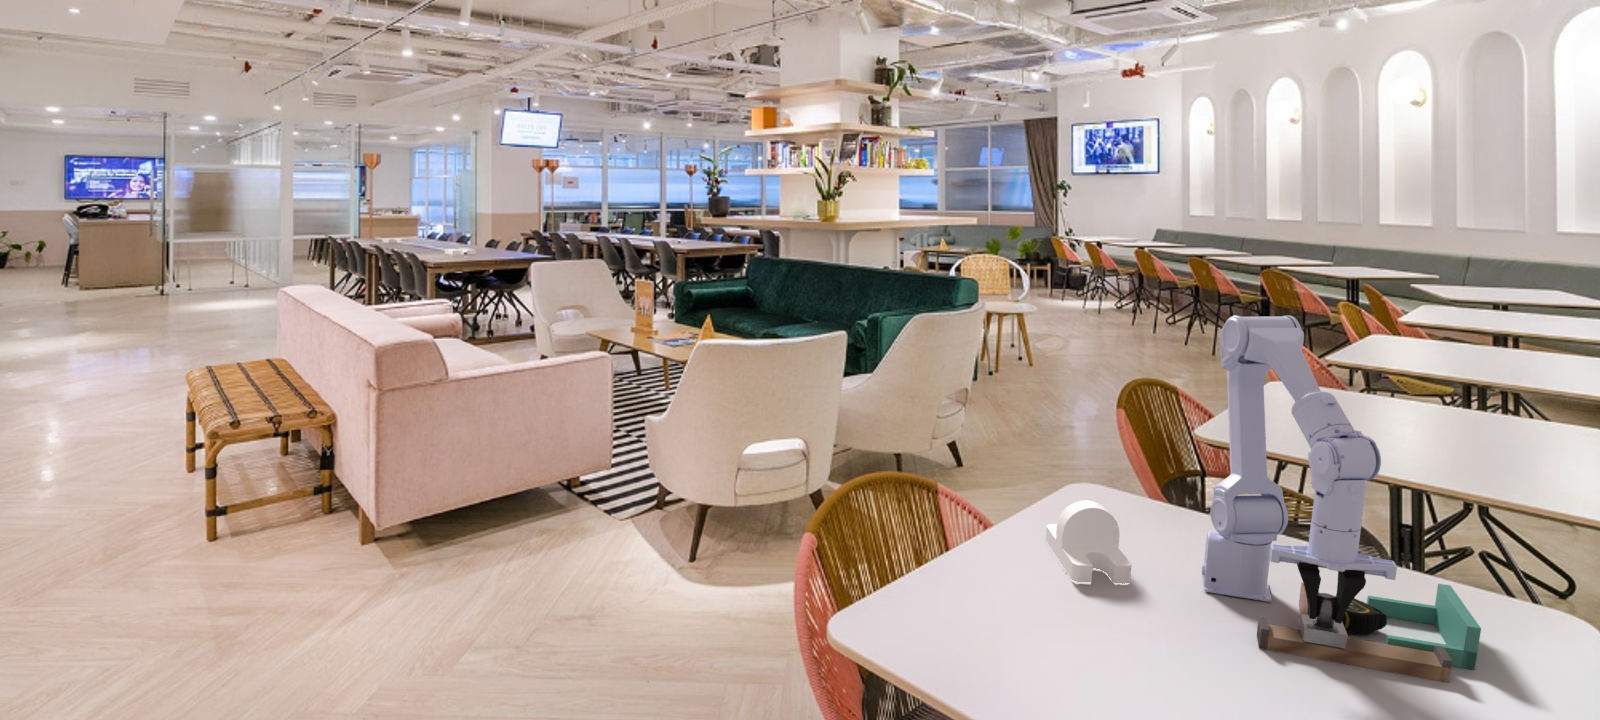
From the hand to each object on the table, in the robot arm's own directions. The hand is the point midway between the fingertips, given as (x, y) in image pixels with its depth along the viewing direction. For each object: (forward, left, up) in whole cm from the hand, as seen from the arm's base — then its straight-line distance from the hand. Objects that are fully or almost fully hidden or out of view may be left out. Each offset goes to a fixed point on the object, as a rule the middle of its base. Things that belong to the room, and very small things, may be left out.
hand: (1324, 617), depth 119 cm
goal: (+13, +10, -5) cm, 17 cm away
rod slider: (0, +6, -5) cm, 8 cm away
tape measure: (+5, +11, -6) cm, 13 cm away
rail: (+3, 0, -5) cm, 6 cm away
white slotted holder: (-33, +19, -6) cm, 38 cm away
